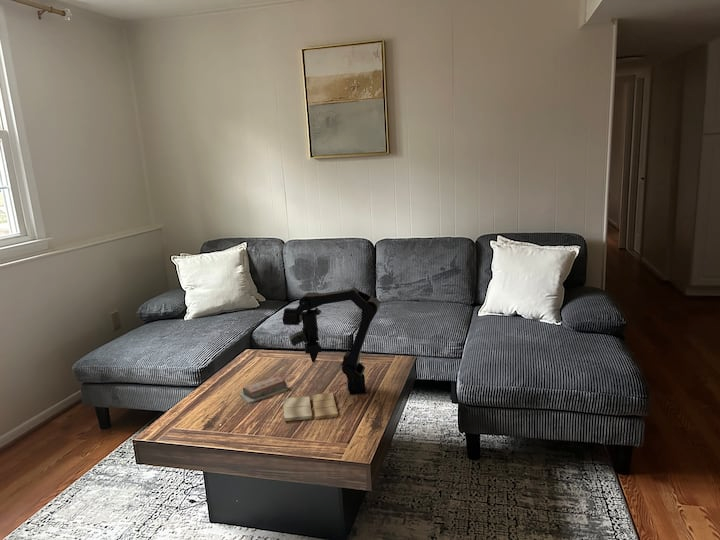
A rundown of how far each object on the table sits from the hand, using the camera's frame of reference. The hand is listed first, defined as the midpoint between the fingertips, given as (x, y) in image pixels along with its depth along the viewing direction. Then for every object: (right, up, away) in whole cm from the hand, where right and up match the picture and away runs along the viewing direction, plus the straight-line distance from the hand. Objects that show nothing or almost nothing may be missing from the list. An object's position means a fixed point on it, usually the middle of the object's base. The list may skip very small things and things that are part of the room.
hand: (313, 362), depth 212 cm
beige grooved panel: (-5, -16, -14) cm, 21 cm away
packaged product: (-20, -14, +3) cm, 25 cm away
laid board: (+5, -15, -13) cm, 20 cm away
